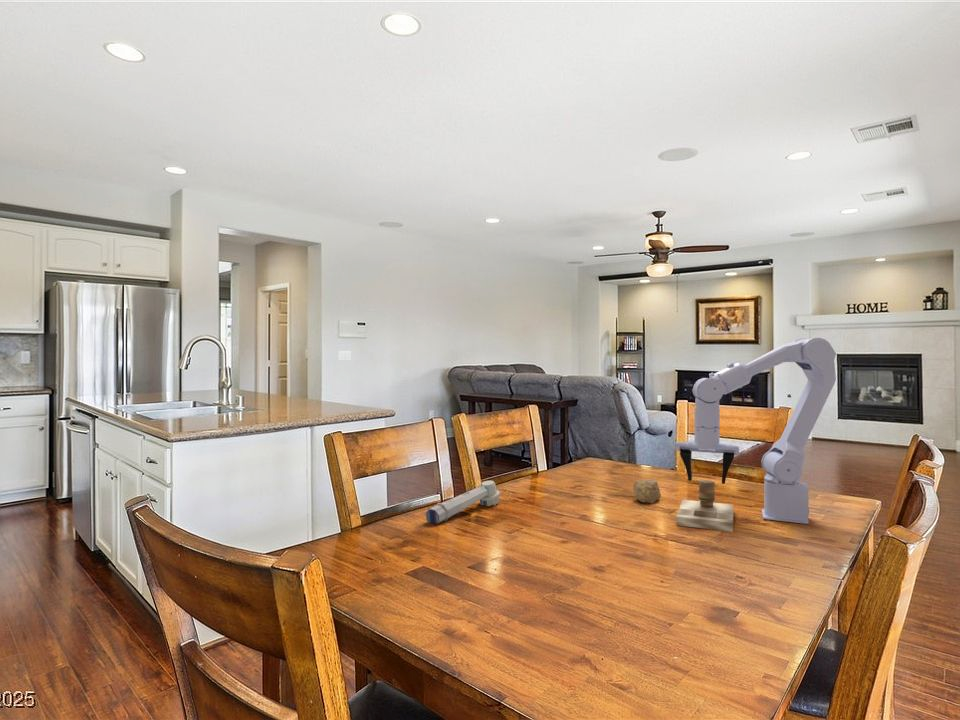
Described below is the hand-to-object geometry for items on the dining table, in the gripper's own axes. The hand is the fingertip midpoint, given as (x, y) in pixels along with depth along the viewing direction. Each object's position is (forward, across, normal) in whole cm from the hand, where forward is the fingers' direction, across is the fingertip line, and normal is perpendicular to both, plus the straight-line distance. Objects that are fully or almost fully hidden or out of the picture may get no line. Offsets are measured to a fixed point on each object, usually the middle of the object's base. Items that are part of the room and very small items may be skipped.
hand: (706, 481), depth 138 cm
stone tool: (+8, +15, -9) cm, 20 cm away
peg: (+6, 0, 0) cm, 6 cm away
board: (+8, 0, +4) cm, 9 cm away
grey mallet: (+9, +55, +22) cm, 60 cm away
